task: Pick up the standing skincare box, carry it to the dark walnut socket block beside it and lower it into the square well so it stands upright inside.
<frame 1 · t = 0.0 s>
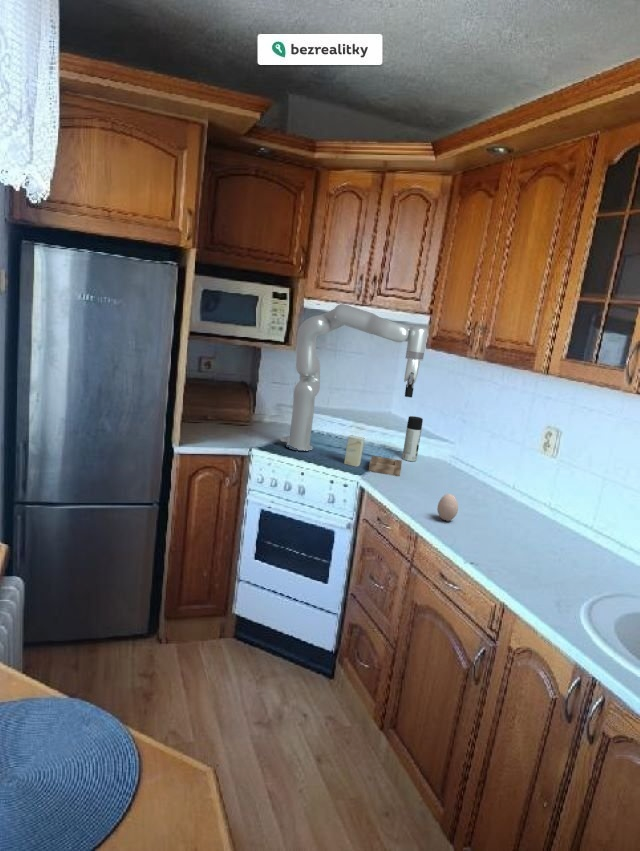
hand: (408, 395, 247), 31 cm above the countertop, tool pointing down, fingers open, 9 cm apart
skincare box: (352, 464, 244), on the countertop
spray can: (409, 460, 264), on the countertop
socket block: (384, 469, 242), on the countertop
egg: (445, 520, 191), on the countertop
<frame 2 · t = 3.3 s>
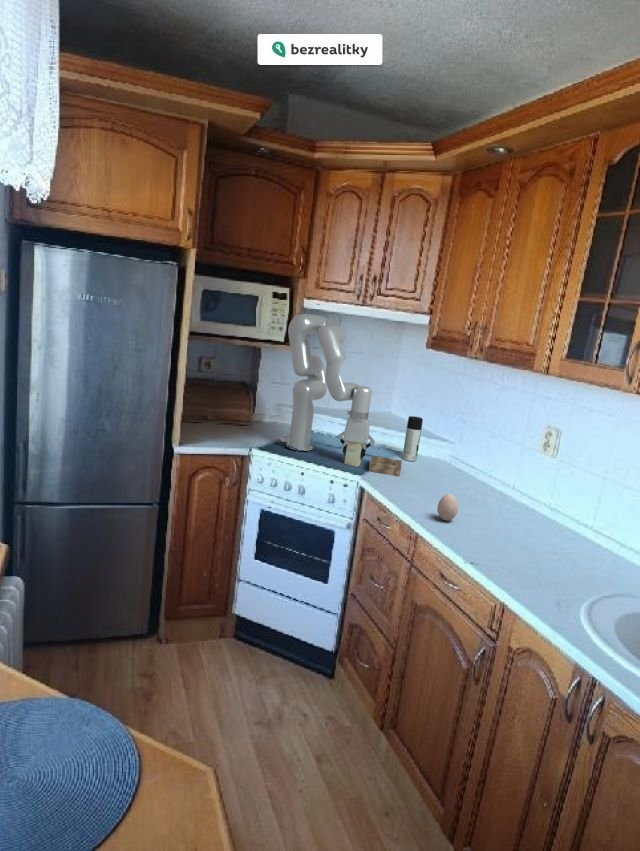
hand: (353, 455, 243), 4 cm above the countertop, tool pointing down, fingers closed on skincare box, 6 cm apart
skincare box: (352, 464, 244), on the countertop, touching gripper
everything else where it was.
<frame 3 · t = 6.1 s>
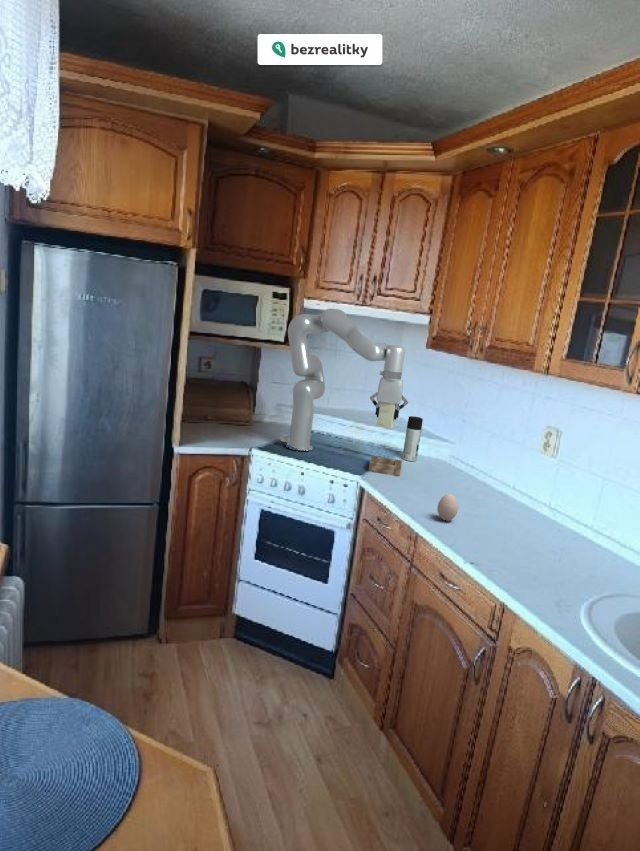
hand: (386, 417, 238), 22 cm above the countertop, tool pointing down, fingers closed on skincare box, 6 cm apart
skincare box: (385, 427, 239), point 18 cm above the countertop, touching gripper
everything else where it was.
when the fingers open (6 cm above the countertop, at t = 9.0 s): skincare box drops 1 cm, resting on socket block.
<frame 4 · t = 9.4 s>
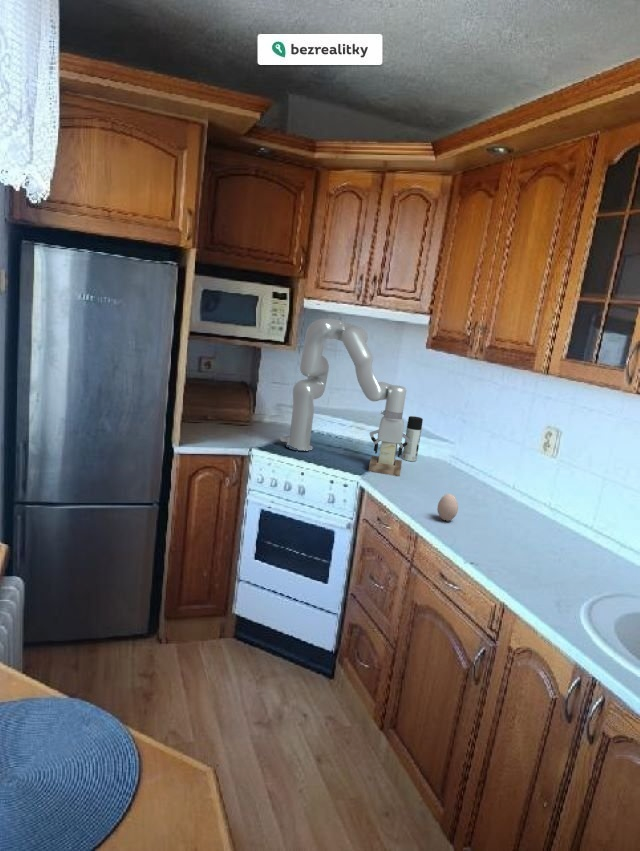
hand: (387, 454, 241), 7 cm above the countertop, tool pointing down, fingers open, 9 cm apart
skincare box: (385, 468, 242), point 1 cm above the countertop, touching socket block
everything else where it was.
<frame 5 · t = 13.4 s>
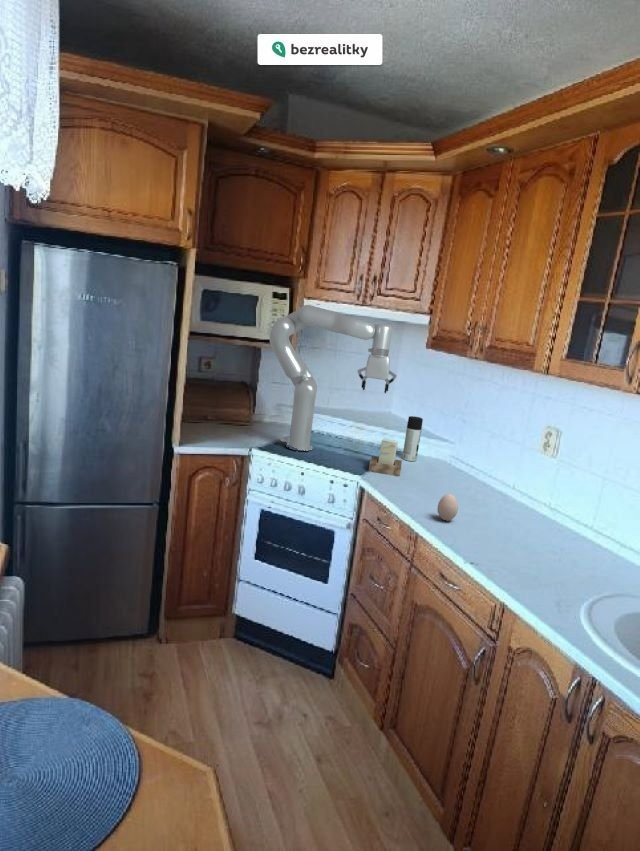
hand: (374, 391, 253), 30 cm above the countertop, tool pointing down, fingers open, 9 cm apart
nothing on the countertop moved.
at the end: skincare box 0.1 cm off-centre on the socket block, point 0.6 cm above the socket block's base; skincare box tilted 0°; the gripper is holding nothing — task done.
